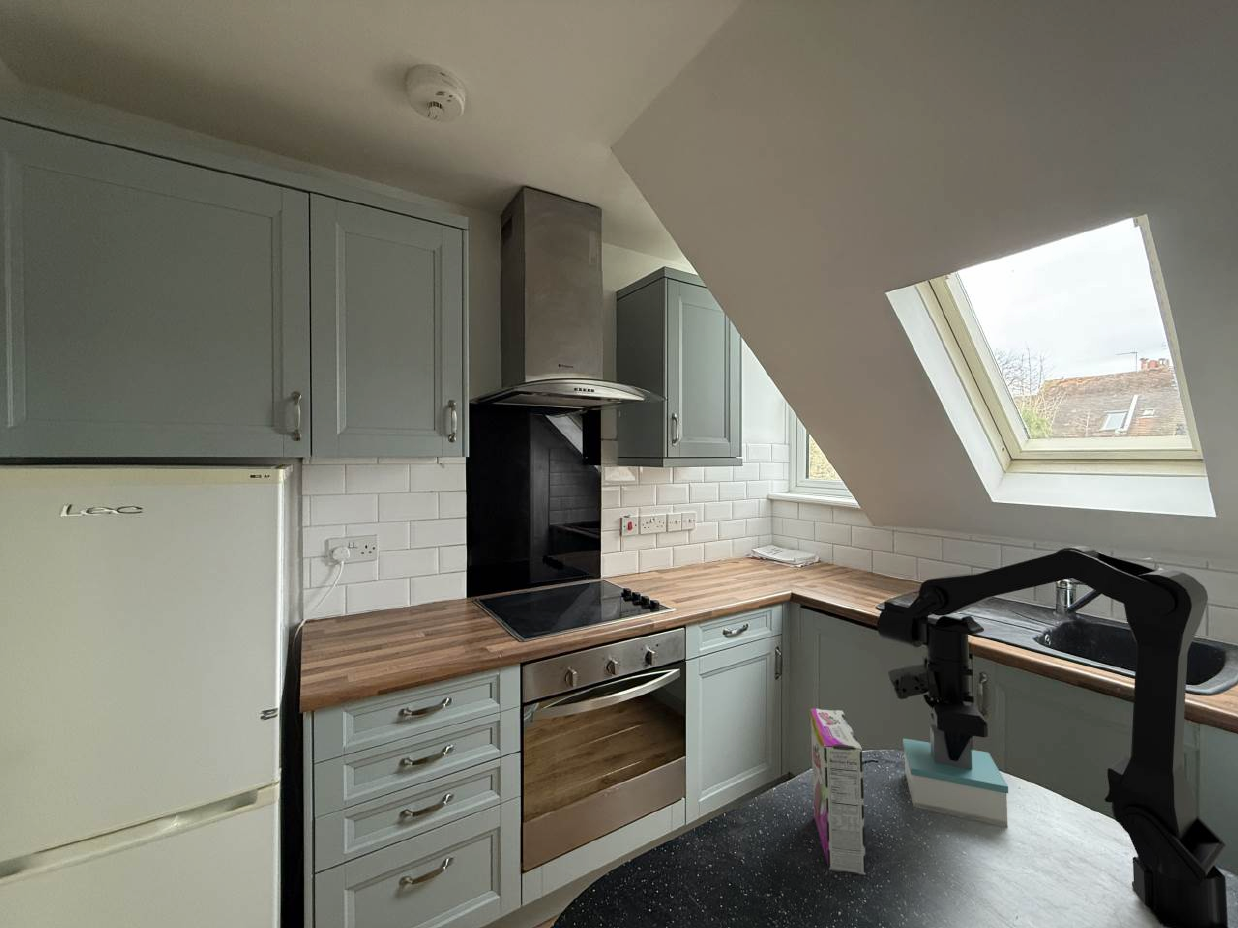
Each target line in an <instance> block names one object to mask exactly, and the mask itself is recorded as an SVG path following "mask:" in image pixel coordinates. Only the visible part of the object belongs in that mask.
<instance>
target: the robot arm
mask: <svg viewBox="0 0 1238 928" xmlns="http://www.w3.org/2000/svg"><path fill="white" fill-rule="evenodd" d="M1068 579H1073V580H1074V581H1077V582H1080V583H1082V584H1083V585H1086V586H1087V587H1088V588H1090V589H1092V590H1094V591H1096V592H1097V593H1099V594H1101V595H1103V596H1105V597H1107V598H1109V599H1112V600H1114V601H1116V602H1119V603H1120V604H1123V609H1124V613H1125V618H1126V622H1127V625H1128V627H1129V629H1130V631H1131V634H1132V637H1133V640H1134V642H1135V647H1136V648H1135V650H1136V651H1135V667H1134V668H1135V670H1134V688H1133V689H1134V690H1133V708H1132V709H1133V710H1132V728H1131V729H1132V730H1131V732H1132V733H1131V745H1130V746H1131V748H1130V749H1131V750H1130V751H1131V752H1130V757H1127V755H1124V756H1123V757H1121V758H1120V759H1118V760H1116V762H1114V763H1113V764H1112V765H1110V766H1109V767H1108V768H1107V782H1108V789H1109V790H1108V793H1107V796H1106V797H1105V798H1104V801H1105V803H1111V810H1112V811H1111V812H1112V815H1113V817H1114V819H1115V822H1116V823H1118V824H1119V825H1120V826H1121V827H1122V829H1123V830H1124V831H1125V832H1126V833H1127V834H1128V837H1129V839H1130V841H1131V843H1132V845H1133V847H1134V850H1135V852H1136V855H1137V856H1134V857H1132V872H1133V873H1132V874H1133V881H1131V886H1132V889H1133V890H1134V892H1135V893H1136V894H1137V896H1138V897H1139V899H1140V900H1141V902H1142V903H1143V904H1144V905H1145V906H1146V907H1147V909H1148V910H1149V912H1150V913H1151V914H1152V916H1153V917H1154V918H1155V919H1156V920H1157V922H1158V923H1159V924H1160V925H1161V926H1163V927H1165V928H1229V918H1228V899H1227V898H1228V897H1227V878H1226V875H1224V874H1223V873H1222V872H1221V870H1219V869H1218V867H1216V865H1215V864H1216V862H1217V861H1218V860H1219V859H1220V857H1221V855H1222V854H1223V853H1224V851H1225V849H1226V848H1227V845H1226V843H1225V842H1224V841H1223V840H1222V839H1221V838H1220V837H1219V836H1218V835H1217V834H1216V833H1215V832H1214V831H1213V830H1212V829H1211V828H1210V827H1209V826H1208V825H1207V824H1206V823H1205V821H1204V820H1202V819H1201V818H1200V817H1199V816H1198V814H1197V813H1196V812H1197V811H1196V808H1195V801H1194V795H1193V791H1192V787H1191V784H1190V783H1189V780H1188V778H1187V775H1186V773H1185V770H1184V768H1183V752H1184V751H1183V749H1184V747H1183V745H1184V730H1185V711H1186V710H1185V707H1186V694H1187V693H1186V689H1187V671H1188V652H1189V649H1190V647H1191V644H1192V642H1193V640H1194V638H1195V636H1196V634H1197V632H1198V629H1200V626H1201V622H1202V620H1203V617H1204V614H1205V611H1206V608H1207V604H1208V600H1209V596H1208V591H1207V590H1206V588H1205V586H1204V585H1203V584H1202V583H1200V581H1198V580H1197V579H1196V578H1195V577H1193V576H1192V575H1189V574H1187V573H1186V572H1182V571H1179V570H1174V569H1154V568H1152V567H1148V566H1146V565H1143V564H1140V563H1137V562H1133V561H1130V560H1126V559H1123V558H1119V557H1116V556H1112V555H1109V554H1106V553H1103V552H1100V551H1098V550H1095V549H1093V548H1091V547H1089V546H1085V545H1078V546H1071V547H1066V548H1062V549H1060V550H1058V551H1057V552H1054V553H1051V554H1047V555H1043V556H1039V557H1036V558H1032V559H1031V558H1030V559H1028V560H1024V561H1022V562H1021V561H1020V562H1017V563H1013V564H1010V565H1006V566H1003V567H999V568H995V569H991V570H988V571H984V572H978V573H964V574H953V575H946V576H940V577H935V578H930V579H926V580H924V581H923V582H922V583H921V584H920V588H919V590H918V596H917V597H916V598H915V599H914V600H913V602H912V603H911V604H910V605H909V604H905V603H901V602H900V601H895V600H887V601H884V608H883V609H882V610H881V612H880V614H879V617H878V620H877V622H876V625H877V628H876V629H877V632H878V634H879V636H880V637H881V638H882V639H884V640H888V641H892V642H895V643H898V644H899V643H900V644H903V645H906V646H909V647H914V648H919V647H921V646H922V645H924V644H926V654H924V656H923V657H922V664H917V665H909V666H904V667H900V668H895V669H891V670H889V671H888V672H887V674H888V677H889V681H890V683H891V685H892V687H893V690H894V693H895V695H896V698H897V699H899V700H900V699H901V700H904V699H905V700H906V699H908V698H909V697H913V696H914V697H915V696H919V695H922V696H923V699H924V701H925V704H927V705H928V706H929V707H930V708H931V709H932V713H931V712H930V715H931V717H932V720H933V722H934V723H935V724H934V725H936V726H937V729H939V730H942V731H943V734H944V738H945V742H946V747H947V751H948V755H949V759H950V760H953V761H958V760H959V758H960V756H961V754H962V753H963V751H964V749H965V748H966V746H967V744H968V743H969V741H970V740H971V741H972V739H973V737H978V738H987V737H989V735H988V734H989V729H988V723H987V721H986V719H985V718H984V716H983V714H982V713H981V712H980V711H979V710H978V709H977V708H976V707H975V706H973V705H967V703H973V704H974V703H975V697H974V694H973V693H972V691H971V676H972V677H973V676H974V670H973V668H972V666H971V665H970V650H969V649H970V646H969V636H973V635H977V634H980V633H983V632H985V629H984V627H983V626H981V624H980V623H978V622H977V621H975V619H974V618H973V617H972V615H967V616H963V617H962V618H956V617H954V616H953V617H952V616H949V615H952V614H954V613H958V612H963V611H967V610H968V609H971V608H973V607H975V606H978V605H980V604H982V603H985V602H986V601H988V600H990V599H992V598H994V597H996V596H1000V595H1003V594H1004V595H1005V594H1008V593H1013V592H1018V591H1021V590H1026V589H1029V588H1034V587H1039V586H1043V585H1047V584H1051V583H1057V582H1060V581H1065V580H1068ZM932 615H934V616H937V617H938V616H939V617H938V619H937V618H934V617H930V616H932ZM947 615H948V616H947ZM927 693H928V694H927Z"/></svg>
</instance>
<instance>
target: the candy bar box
mask: <svg viewBox="0 0 1238 928" xmlns="http://www.w3.org/2000/svg"><path fill="white" fill-rule="evenodd" d="M809 710H810V730H811V731H810V733H811V735H810V738H811V758H812V759H811V760H812V762H811V763H812V765H811V766H812V789H813V791H812V793H813V817H814V820H815V824H816V828H817V831H818V835H819V839H820V842H821V845H822V849H823V852H824V857H825V860H826V863H827V869H828V870H829V871H832V872H839V873H846V874H854V875H855V874H856V875H860V876H861V875H862V876H866V875H867V863H866V862H867V861H866V860H867V859H866V856H867V855H866V831H865V826H866V825H865V824H866V823H865V800H864V798H865V797H864V774H863V749H862V746H861V744H860V743H859V740H858V738H857V736H856V735H855V732H854V730H853V728H852V726H851V724H850V722H849V721H848V718H847V717H846V714H845V713H844V711H843V710H842V709H841V710H840V709H827V708H826V709H825V708H820V707H819V708H810V709H809Z"/></svg>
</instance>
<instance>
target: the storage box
mask: <svg viewBox="0 0 1238 928" xmlns="http://www.w3.org/2000/svg"><path fill="white" fill-rule="evenodd" d="M904 770H905V771H904V772H905V774H904V776H905V778H906V781H907V782H906V783H907V786H908V787H907V788H908V791H909V794H910V799H911V803H912V807H913V808H916V809H921V810H926V811H930V812H934V813H941V814H945V815H948V816H953V817H958V818H962V819H967V820H972V821H976V822H977V821H978V822H981V823H986V824H991V825H996V826H999V827H1005V828H1008V808H1007V807H1008V802H1007V793H1003V792H998V791H993V790H988V789H982V788H977V787H972V786H967V785H962V784H956V783H951V782H946V781H941V780H936V779H931V778H925V777H920V776H915V775H911V772H910V768H909V765H908V761H907V757H906V753H905V752H904Z"/></svg>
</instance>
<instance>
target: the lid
mask: <svg viewBox="0 0 1238 928" xmlns="http://www.w3.org/2000/svg"><path fill="white" fill-rule="evenodd" d="M929 728H930V729H929V731H930V732H929V733H930V736H929V737H930V742H927V741H919V740H915V739H910V738H909V739H908V738H902V746H903V750H904V754H905V753H906V757H907V761H908V765H909V768H910V772H911V775H915V776H920V777H925V778H931V779H936V780H941V781H946V782H951V783H956V784H962V785H967V786H972V787H977V788H982V789H988V790H993V791H998V792H1003V793H1006V794H1009V786H1008V784H1007V782H1006V780H1005V778H1004V777H1003V775H1002V773H1001V772H1000V770H999V768H998V767H997V764H996V763H995V761H994V759H993V757H992V756H991V754H990V752H987V751H979V750H975V749H972V748H973V747H972V746H973V745H972V739H971V740H970V741H969V743H968V744H967V746H966V748H965V749H964V751H963V753H962V754H961V756H960V758H959V760H958V761H953V760H950V759H949V755H948V751H947V747H946V742H945V738H944V734H943V731H942V730H939V729H937V726H936V724H933V723H929Z"/></svg>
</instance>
